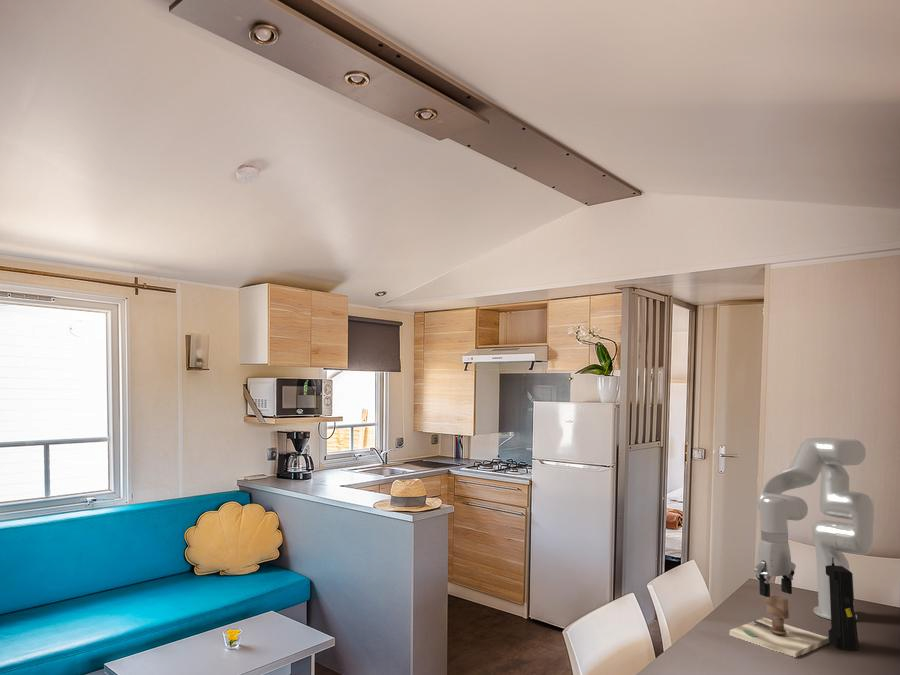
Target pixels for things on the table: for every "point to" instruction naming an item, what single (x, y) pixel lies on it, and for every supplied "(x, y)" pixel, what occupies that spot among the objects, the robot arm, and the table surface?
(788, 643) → the dial board
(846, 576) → the portable radio
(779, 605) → the tuning peg
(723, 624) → the table surface
